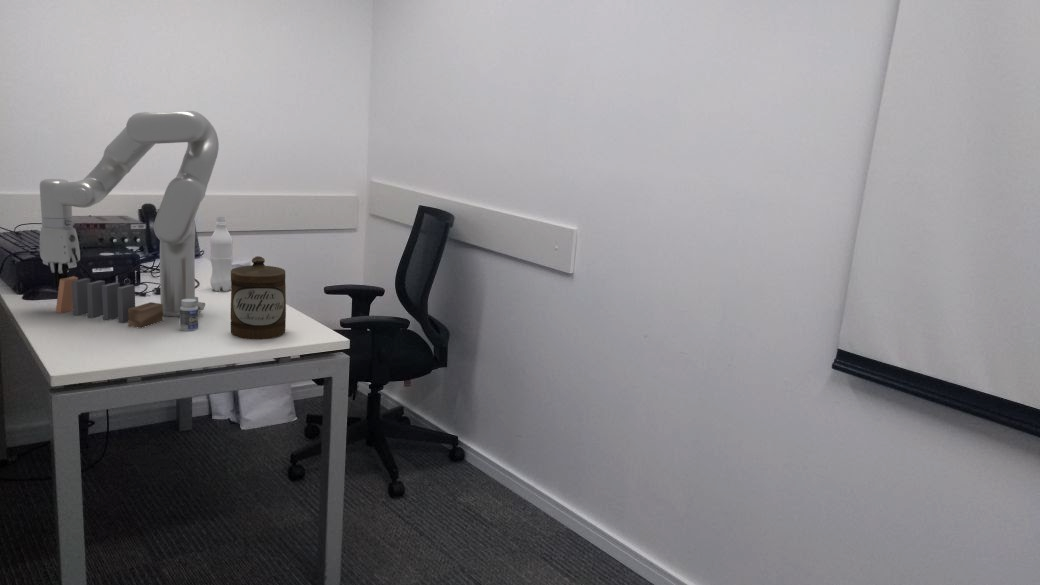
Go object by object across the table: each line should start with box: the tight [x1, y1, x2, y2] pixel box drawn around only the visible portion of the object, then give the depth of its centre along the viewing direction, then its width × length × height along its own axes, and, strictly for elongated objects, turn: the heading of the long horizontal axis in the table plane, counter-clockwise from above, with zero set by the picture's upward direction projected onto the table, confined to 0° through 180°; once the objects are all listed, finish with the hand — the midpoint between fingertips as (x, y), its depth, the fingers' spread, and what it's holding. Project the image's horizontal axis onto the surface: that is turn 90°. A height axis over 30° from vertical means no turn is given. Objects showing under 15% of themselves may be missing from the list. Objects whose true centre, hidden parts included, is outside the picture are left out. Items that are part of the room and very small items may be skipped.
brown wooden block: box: [128, 302, 164, 329], centre depth 220 cm, size 4×9×5 cm, turn 167°
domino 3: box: [87, 279, 106, 319], centre depth 223 cm, size 2×5×10 cm, turn 167°
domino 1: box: [55, 275, 79, 314], centre depth 225 cm, size 2×5×10 cm, turn 167°
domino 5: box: [117, 284, 136, 324], centre depth 220 cm, size 2×5×10 cm, turn 167°
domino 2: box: [72, 277, 91, 317], centre depth 224 cm, size 2×5×10 cm, turn 167°
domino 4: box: [102, 282, 121, 322], centre depth 221 cm, size 2×5×10 cm, turn 167°
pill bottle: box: [179, 299, 199, 332], centre depth 217 cm, size 5×5×8 cm
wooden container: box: [230, 255, 287, 341], centre depth 218 cm, size 15×15×22 cm
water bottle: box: [209, 216, 234, 292], centre depth 263 cm, size 7×7×25 cm
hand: (61, 285), depth 225 cm, fingers closed
